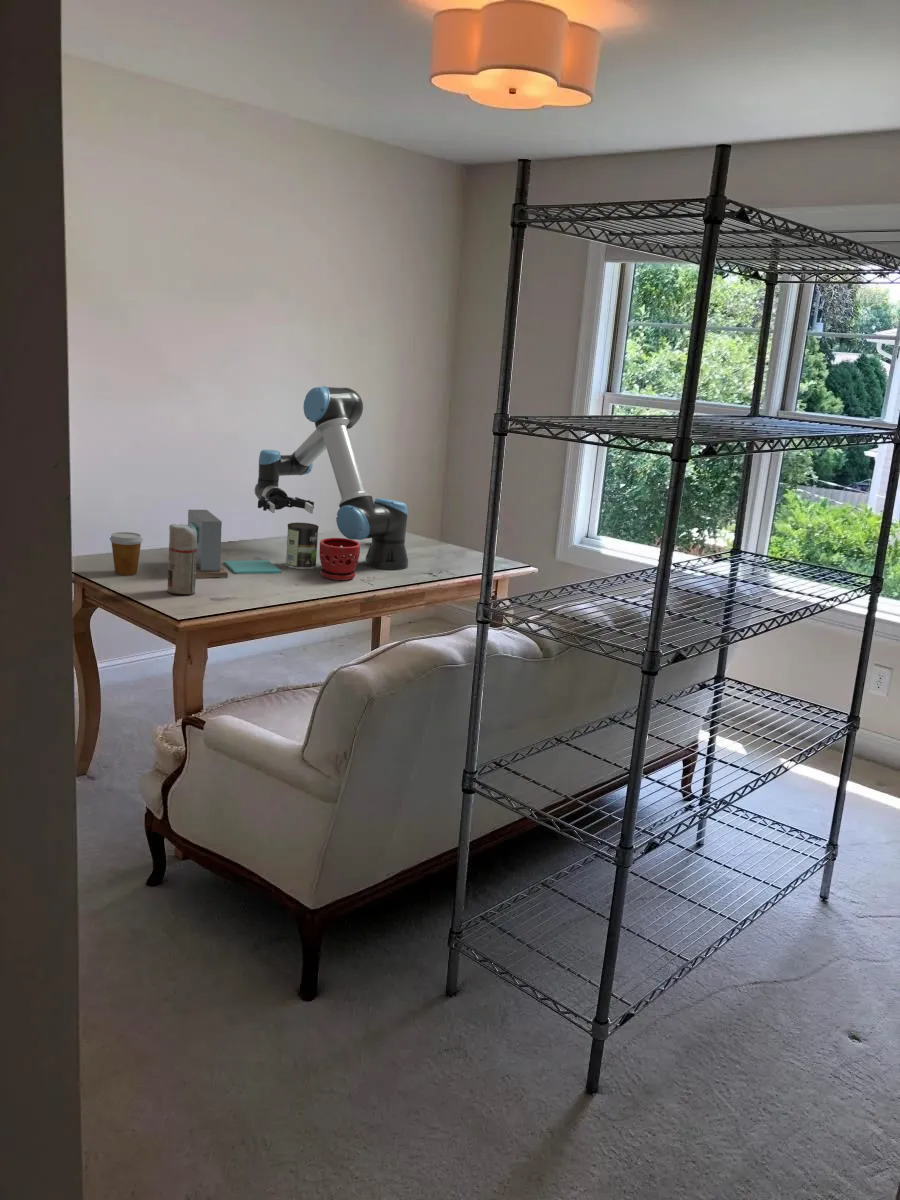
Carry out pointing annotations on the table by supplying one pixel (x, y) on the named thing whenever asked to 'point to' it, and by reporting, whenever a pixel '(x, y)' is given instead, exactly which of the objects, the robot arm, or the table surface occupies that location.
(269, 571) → the pad
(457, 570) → the table surface
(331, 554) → the plant pot
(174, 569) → the spray can
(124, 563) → the disposable coffee cup
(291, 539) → the coffee can
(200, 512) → the mounted unit
